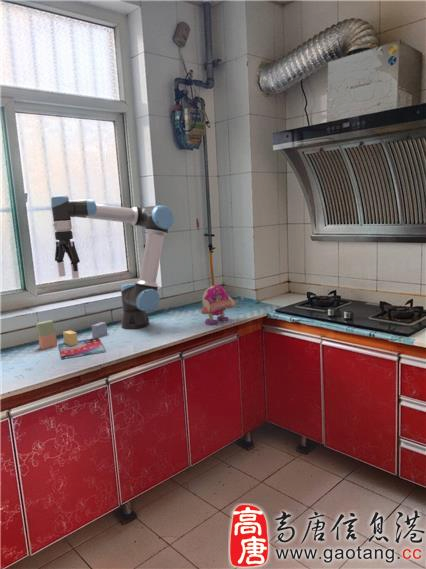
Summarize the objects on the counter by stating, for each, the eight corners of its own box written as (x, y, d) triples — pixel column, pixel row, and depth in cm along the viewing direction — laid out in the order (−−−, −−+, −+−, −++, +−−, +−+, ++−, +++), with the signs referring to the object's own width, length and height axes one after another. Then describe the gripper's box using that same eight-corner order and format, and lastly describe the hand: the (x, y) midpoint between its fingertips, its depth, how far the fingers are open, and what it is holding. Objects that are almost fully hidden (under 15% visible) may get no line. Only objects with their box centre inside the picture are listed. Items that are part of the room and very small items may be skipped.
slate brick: (101, 333, 226) (100, 322, 225) (107, 333, 224) (106, 322, 223) (92, 337, 220) (91, 325, 219) (98, 337, 218) (96, 326, 217)
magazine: (61, 361, 187) (61, 359, 187) (58, 345, 210) (58, 343, 210) (106, 353, 194) (106, 351, 194) (98, 339, 217) (98, 337, 217)
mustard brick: (64, 344, 211) (63, 331, 210) (71, 342, 213) (69, 330, 212) (71, 346, 206) (69, 334, 205) (78, 344, 208) (76, 332, 207)
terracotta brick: (54, 344, 212) (52, 332, 211) (57, 345, 209) (55, 333, 208) (39, 347, 207) (38, 335, 206) (42, 349, 204) (41, 336, 203)
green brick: (51, 332, 210) (50, 320, 209) (54, 333, 208) (53, 321, 207) (37, 335, 206) (35, 323, 205) (40, 337, 203) (38, 324, 202)
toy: (205, 328, 223) (203, 289, 220) (195, 325, 230) (192, 288, 226) (241, 318, 238) (239, 282, 235) (230, 316, 245) (228, 281, 242)
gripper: (43, 231, 204) (49, 276, 207) (67, 231, 186) (73, 280, 189) (59, 230, 209) (64, 274, 212) (84, 229, 191) (89, 278, 194)
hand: (68, 277), depth 201 cm, fingers open, 13 cm apart
